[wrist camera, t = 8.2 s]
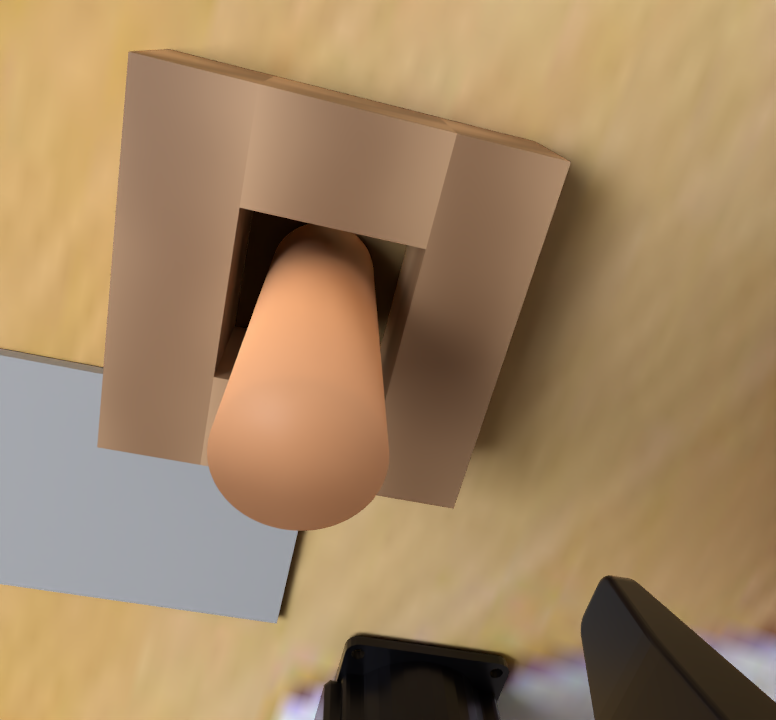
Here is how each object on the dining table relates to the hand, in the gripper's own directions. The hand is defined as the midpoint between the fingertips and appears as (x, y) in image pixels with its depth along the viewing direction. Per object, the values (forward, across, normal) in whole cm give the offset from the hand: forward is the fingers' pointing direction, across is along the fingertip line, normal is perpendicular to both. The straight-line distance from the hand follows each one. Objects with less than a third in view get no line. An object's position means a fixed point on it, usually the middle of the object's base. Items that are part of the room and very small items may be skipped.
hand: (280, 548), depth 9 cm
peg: (+12, 0, 0) cm, 13 cm away
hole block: (+12, 0, 0) cm, 12 cm away
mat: (+12, +5, +9) cm, 16 cm away
